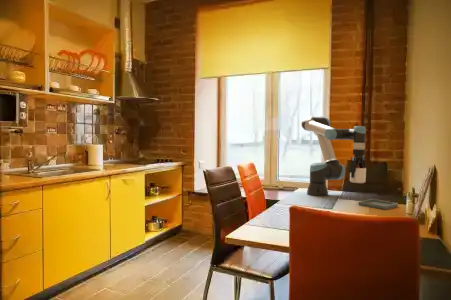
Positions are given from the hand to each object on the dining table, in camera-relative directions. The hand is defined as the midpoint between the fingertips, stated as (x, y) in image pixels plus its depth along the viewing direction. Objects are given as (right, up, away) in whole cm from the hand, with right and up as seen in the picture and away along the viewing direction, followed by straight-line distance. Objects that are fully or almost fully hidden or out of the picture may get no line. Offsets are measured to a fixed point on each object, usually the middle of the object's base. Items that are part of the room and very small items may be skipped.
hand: (357, 181), depth 223 cm
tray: (+6, -14, -16) cm, 22 cm away
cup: (0, -1, 0) cm, 1 cm away
